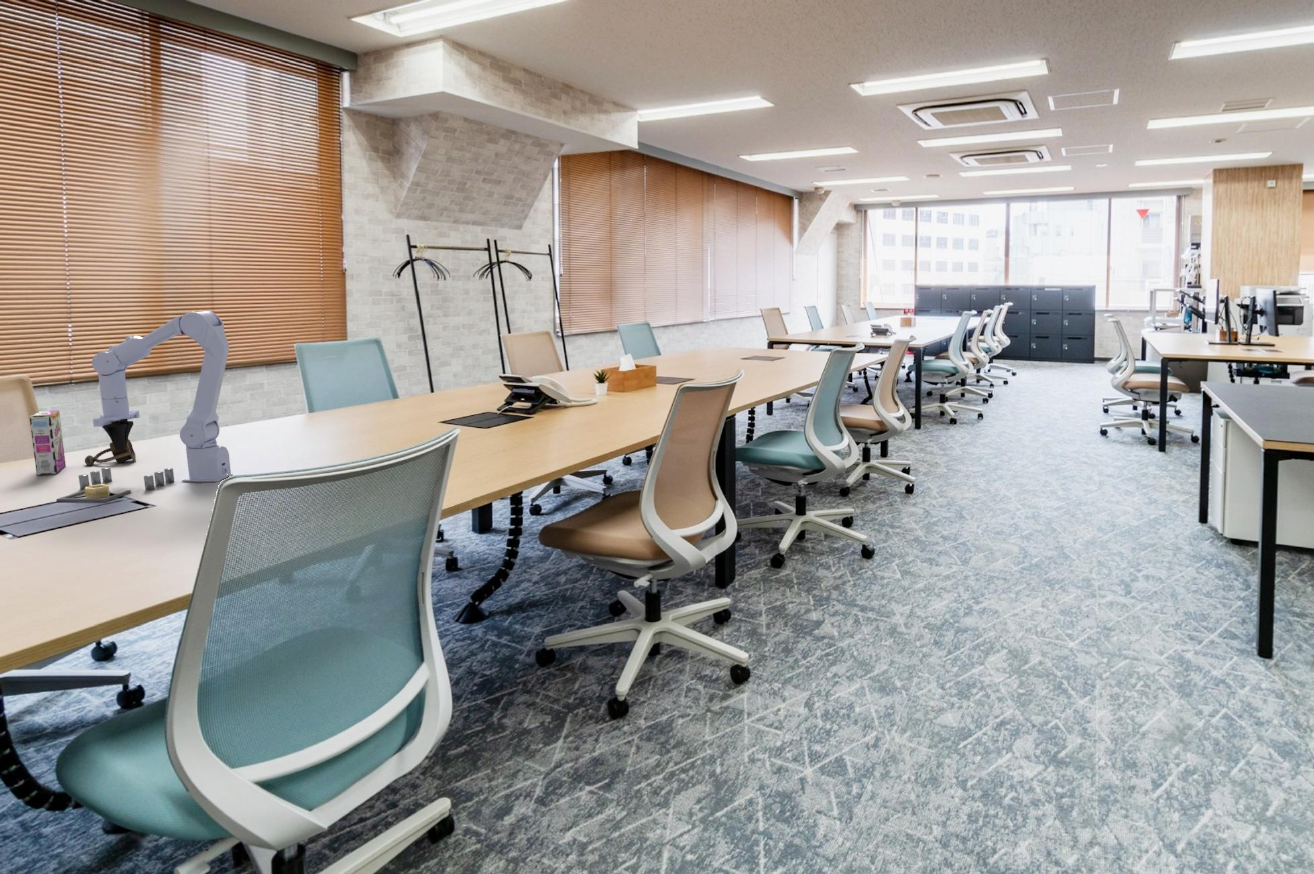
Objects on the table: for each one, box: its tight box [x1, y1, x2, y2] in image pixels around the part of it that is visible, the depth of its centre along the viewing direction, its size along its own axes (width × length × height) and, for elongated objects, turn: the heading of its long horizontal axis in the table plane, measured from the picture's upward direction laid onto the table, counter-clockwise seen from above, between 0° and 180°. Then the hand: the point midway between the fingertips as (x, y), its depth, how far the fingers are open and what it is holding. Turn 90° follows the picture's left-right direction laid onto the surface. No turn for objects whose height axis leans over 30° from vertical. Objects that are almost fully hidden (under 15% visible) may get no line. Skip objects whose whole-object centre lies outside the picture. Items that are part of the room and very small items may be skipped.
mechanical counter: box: [84, 438, 137, 467], centre depth 239 cm, size 7×13×10 cm
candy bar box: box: [28, 410, 67, 476], centre depth 228 cm, size 11×5×16 cm, turn 25°
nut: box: [84, 483, 111, 499], centre depth 201 cm, size 5×5×2 cm
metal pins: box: [78, 467, 175, 491], centre depth 212 cm, size 19×10×4 cm, turn 87°
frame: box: [56, 490, 132, 503], centre depth 200 cm, size 12×9×1 cm
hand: (120, 449), depth 216 cm, fingers closed
